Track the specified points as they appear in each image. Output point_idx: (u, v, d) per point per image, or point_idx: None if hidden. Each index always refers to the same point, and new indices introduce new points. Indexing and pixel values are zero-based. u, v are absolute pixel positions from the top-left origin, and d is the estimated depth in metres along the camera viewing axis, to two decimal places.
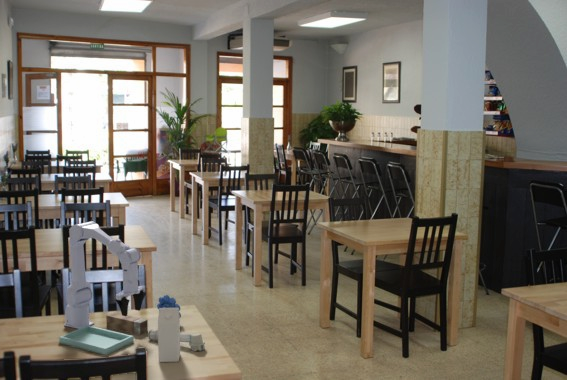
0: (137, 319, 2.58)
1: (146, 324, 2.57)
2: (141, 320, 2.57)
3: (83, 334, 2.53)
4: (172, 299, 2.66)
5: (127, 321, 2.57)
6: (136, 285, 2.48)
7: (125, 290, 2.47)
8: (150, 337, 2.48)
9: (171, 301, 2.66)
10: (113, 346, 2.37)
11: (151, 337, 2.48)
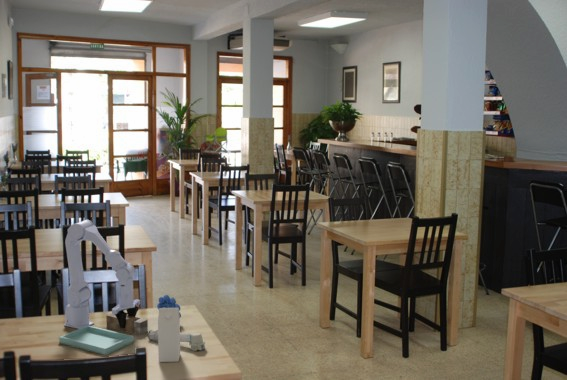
0: (137, 319, 2.58)
1: (146, 324, 2.57)
2: (141, 320, 2.56)
3: (83, 334, 2.53)
4: (172, 299, 2.66)
5: (127, 321, 2.57)
6: (131, 299, 2.58)
7: (121, 304, 2.57)
8: (150, 337, 2.48)
9: (171, 301, 2.66)
10: (113, 346, 2.37)
11: (151, 337, 2.48)
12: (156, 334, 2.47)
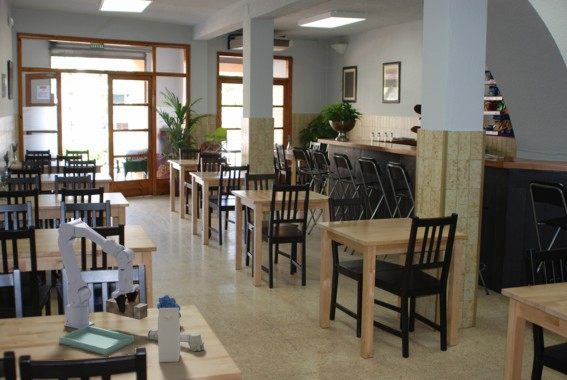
0: (137, 304, 2.57)
1: (146, 309, 2.57)
2: (141, 305, 2.56)
3: (83, 334, 2.53)
4: (172, 299, 2.66)
5: (127, 306, 2.56)
6: (131, 284, 2.57)
7: (120, 288, 2.56)
8: (150, 337, 2.48)
9: (171, 301, 2.66)
10: (113, 346, 2.37)
11: (151, 337, 2.48)
12: (156, 334, 2.47)
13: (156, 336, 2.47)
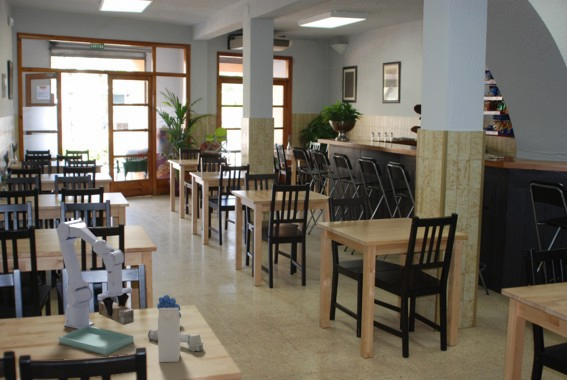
0: (124, 308, 2.50)
1: (132, 314, 2.49)
2: (127, 310, 2.48)
3: (83, 334, 2.53)
4: (172, 299, 2.66)
5: (114, 310, 2.50)
6: (119, 287, 2.51)
7: (108, 291, 2.51)
8: (150, 337, 2.49)
9: (171, 301, 2.66)
10: (113, 346, 2.37)
11: (151, 337, 2.48)
12: (156, 334, 2.47)
13: (156, 336, 2.47)
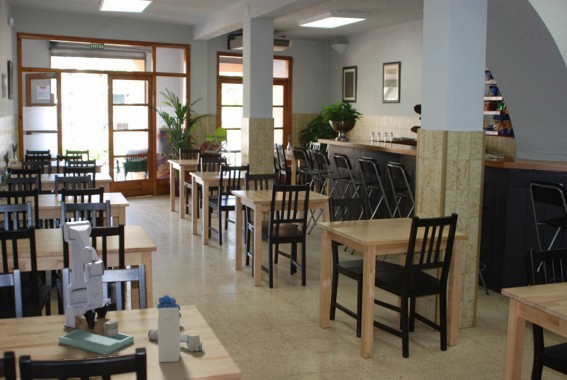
0: (107, 320, 2.42)
1: (116, 326, 2.42)
2: (111, 321, 2.41)
3: (83, 334, 2.53)
4: (172, 299, 2.66)
5: (96, 322, 2.41)
6: (101, 298, 2.42)
7: (89, 303, 2.41)
8: (150, 336, 2.49)
9: (171, 301, 2.66)
10: (113, 346, 2.37)
11: (151, 336, 2.49)
12: (156, 334, 2.47)
13: (156, 336, 2.47)
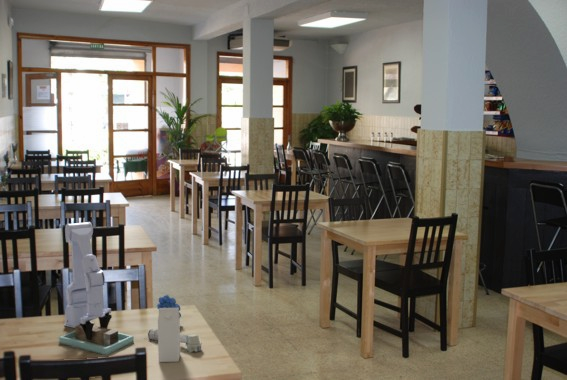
0: (107, 330, 2.43)
1: (117, 336, 2.42)
2: (111, 332, 2.42)
3: None
4: (172, 299, 2.66)
5: (96, 333, 2.42)
6: (101, 308, 2.43)
7: (89, 313, 2.42)
8: (150, 336, 2.49)
9: (171, 301, 2.66)
10: (113, 346, 2.37)
11: (151, 336, 2.49)
12: (155, 333, 2.47)
13: (155, 336, 2.47)
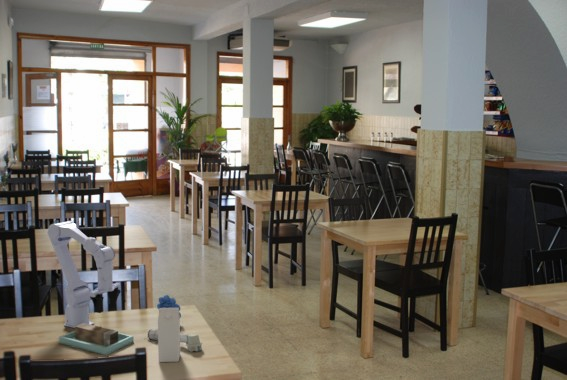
0: (107, 330, 2.43)
1: (117, 336, 2.42)
2: (111, 332, 2.42)
3: None
4: (172, 299, 2.66)
5: (96, 333, 2.42)
6: (110, 283, 2.53)
7: (99, 287, 2.52)
8: (149, 336, 2.49)
9: (171, 301, 2.66)
10: (113, 346, 2.37)
11: (150, 336, 2.49)
12: (155, 333, 2.47)
13: (155, 336, 2.47)
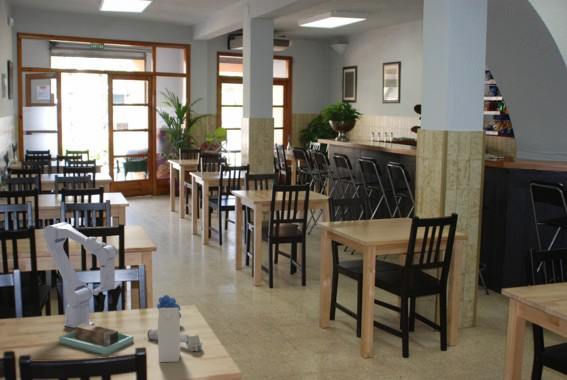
0: (107, 330, 2.43)
1: (117, 336, 2.42)
2: (111, 332, 2.42)
3: None
4: (172, 299, 2.66)
5: (96, 333, 2.42)
6: (113, 280, 2.56)
7: (102, 285, 2.55)
8: (149, 336, 2.49)
9: (171, 301, 2.66)
10: (113, 346, 2.37)
11: (150, 336, 2.49)
12: (155, 333, 2.48)
13: (155, 336, 2.47)
